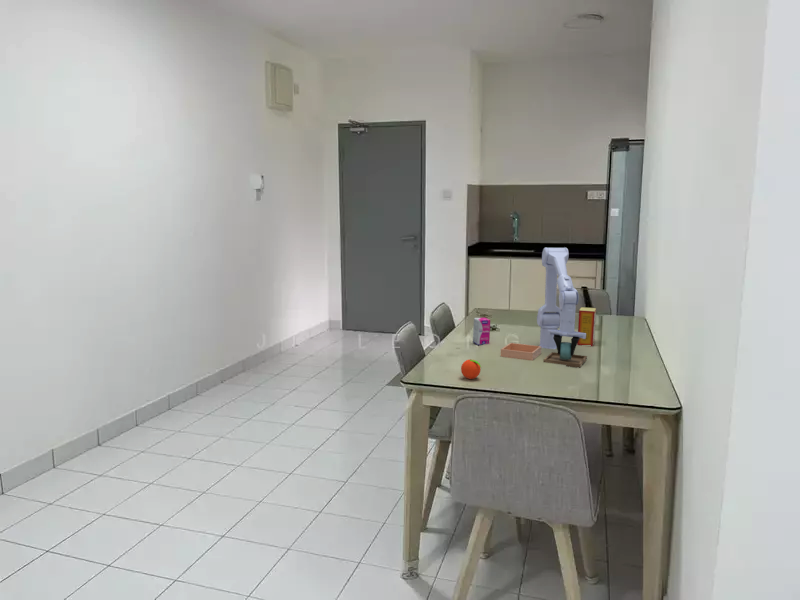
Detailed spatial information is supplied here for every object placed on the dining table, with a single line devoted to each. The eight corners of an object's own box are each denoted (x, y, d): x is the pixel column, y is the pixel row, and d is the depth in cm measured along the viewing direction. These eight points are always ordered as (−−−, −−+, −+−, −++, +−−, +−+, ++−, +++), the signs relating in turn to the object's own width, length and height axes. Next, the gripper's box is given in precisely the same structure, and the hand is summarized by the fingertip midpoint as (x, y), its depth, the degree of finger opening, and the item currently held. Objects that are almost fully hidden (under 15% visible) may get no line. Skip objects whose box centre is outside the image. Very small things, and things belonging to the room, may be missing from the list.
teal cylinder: (561, 356, 245) (561, 341, 244) (572, 357, 243) (573, 342, 242) (558, 358, 241) (559, 343, 240) (570, 360, 239) (570, 345, 238)
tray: (551, 355, 251) (552, 352, 251) (586, 359, 245) (586, 356, 245) (543, 363, 239) (543, 359, 239) (579, 367, 233) (579, 364, 232)
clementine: (486, 379, 217) (487, 359, 216) (475, 383, 212) (476, 363, 211) (468, 374, 222) (468, 355, 221) (456, 378, 217) (457, 359, 216)
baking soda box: (579, 340, 279) (581, 306, 277) (594, 342, 277) (596, 307, 275) (577, 345, 271) (579, 309, 268) (592, 346, 268) (594, 310, 266)
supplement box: (477, 345, 268) (478, 320, 266) (472, 342, 274) (473, 317, 272) (489, 345, 269) (490, 319, 268) (484, 342, 275) (485, 317, 273)
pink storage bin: (510, 350, 259) (510, 342, 258) (541, 354, 253) (541, 346, 252) (500, 357, 247) (500, 349, 247) (532, 361, 241) (532, 353, 241)
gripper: (546, 320, 239) (544, 354, 241) (584, 324, 233) (582, 358, 235) (550, 317, 245) (549, 350, 247) (587, 321, 239) (585, 354, 241)
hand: (565, 354), depth 241 cm, fingers closed on teal cylinder, 4 cm apart
